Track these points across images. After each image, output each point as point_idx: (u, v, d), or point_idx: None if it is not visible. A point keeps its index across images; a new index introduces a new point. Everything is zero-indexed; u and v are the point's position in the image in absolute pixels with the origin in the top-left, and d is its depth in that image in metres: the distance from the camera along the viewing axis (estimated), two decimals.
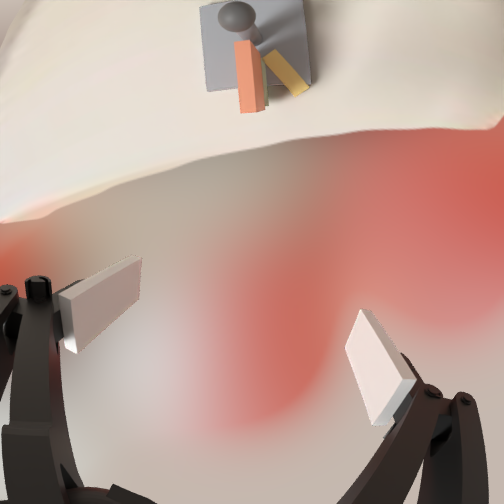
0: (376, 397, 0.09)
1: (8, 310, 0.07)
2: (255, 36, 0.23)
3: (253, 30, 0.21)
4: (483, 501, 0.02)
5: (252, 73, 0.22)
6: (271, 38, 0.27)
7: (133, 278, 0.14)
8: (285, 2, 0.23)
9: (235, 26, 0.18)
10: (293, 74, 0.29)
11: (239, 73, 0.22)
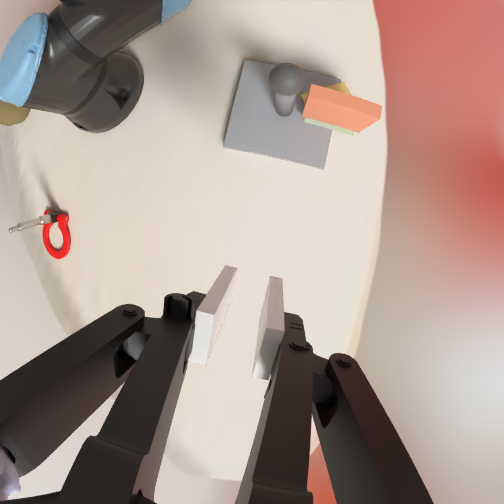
0: (258, 349, 0.12)
1: (126, 334, 0.08)
2: None
3: None
4: (410, 470, 0.04)
5: (345, 94, 0.24)
6: None
7: (231, 288, 0.16)
8: (250, 73, 0.32)
9: (302, 79, 0.21)
10: None
11: (342, 103, 0.24)
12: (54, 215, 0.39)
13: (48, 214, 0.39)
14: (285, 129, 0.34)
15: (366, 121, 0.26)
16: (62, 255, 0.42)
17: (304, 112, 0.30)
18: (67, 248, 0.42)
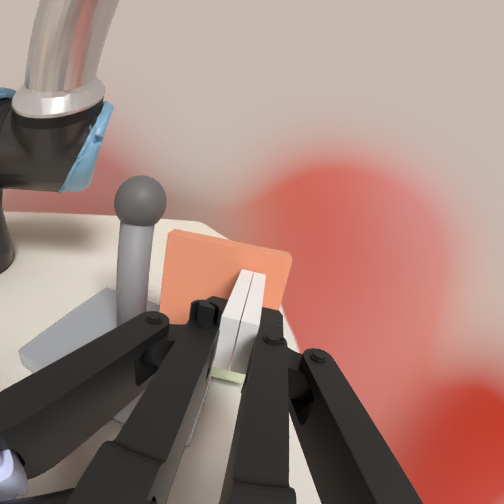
0: None
1: (149, 342, 0.08)
2: None
3: None
4: (393, 467, 0.04)
5: None
6: None
7: None
8: (104, 298, 0.24)
9: (162, 190, 0.17)
10: None
11: (224, 243, 0.17)
12: None
13: None
14: None
15: (271, 294, 0.18)
16: None
17: None
18: None
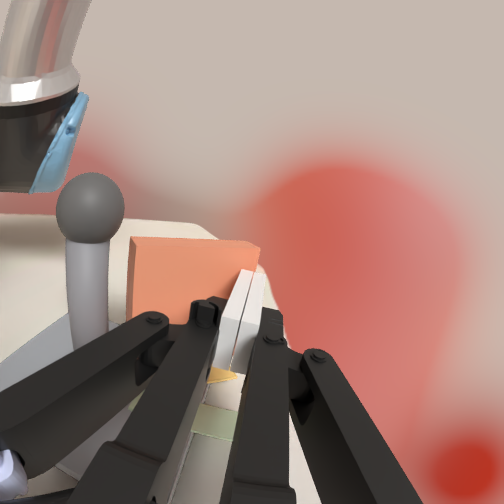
0: None
1: (149, 342, 0.08)
2: None
3: None
4: (393, 467, 0.04)
5: (191, 240, 0.16)
6: None
7: (248, 291, 0.16)
8: None
9: None
10: None
11: (198, 245, 0.15)
12: None
13: None
14: None
15: None
16: None
17: None
18: None
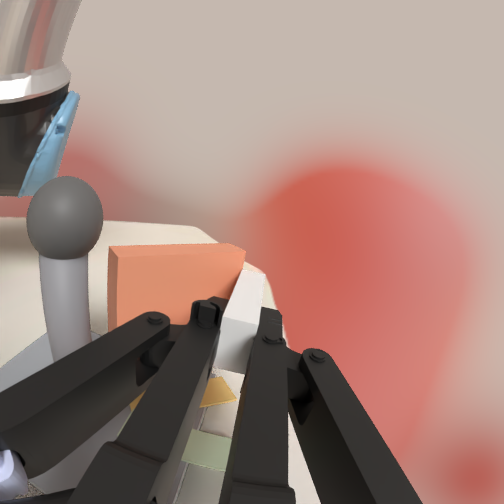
0: None
1: (150, 343, 0.08)
2: None
3: None
4: (392, 468, 0.04)
5: None
6: None
7: None
8: None
9: (97, 196, 0.10)
10: None
11: (182, 252, 0.14)
12: None
13: None
14: None
15: (229, 291, 0.17)
16: None
17: None
18: None
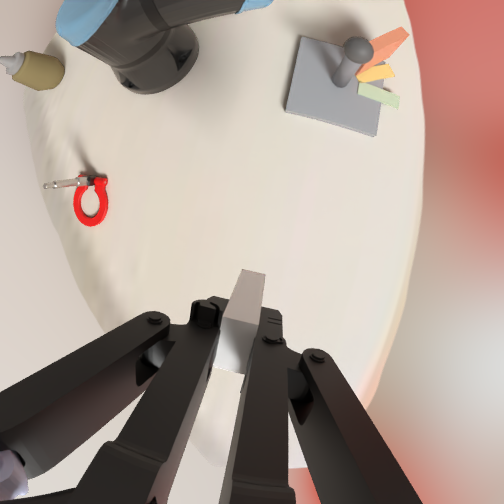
0: None
1: (150, 343, 0.08)
2: None
3: None
4: (393, 467, 0.04)
5: (383, 35, 0.22)
6: None
7: None
8: (307, 48, 0.32)
9: (369, 42, 0.21)
10: (376, 68, 0.31)
11: (389, 42, 0.22)
12: (91, 177, 0.39)
13: (85, 176, 0.38)
14: (341, 99, 0.34)
15: (399, 43, 0.24)
16: (96, 222, 0.42)
17: (360, 70, 0.29)
18: (104, 213, 0.42)
